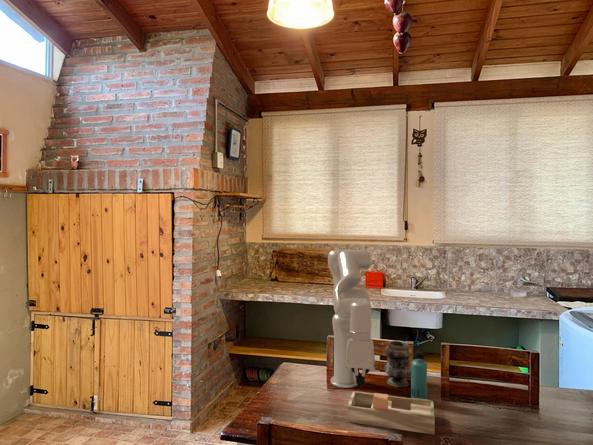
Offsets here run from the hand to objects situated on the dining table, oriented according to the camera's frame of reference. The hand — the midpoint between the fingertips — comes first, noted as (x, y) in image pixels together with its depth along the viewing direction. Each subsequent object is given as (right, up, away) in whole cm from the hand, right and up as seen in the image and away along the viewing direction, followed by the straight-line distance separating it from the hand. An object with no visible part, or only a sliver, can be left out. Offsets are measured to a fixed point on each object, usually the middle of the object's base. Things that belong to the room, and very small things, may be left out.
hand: (360, 385), depth 149 cm
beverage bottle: (+26, -13, +15) cm, 33 cm away
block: (+7, -8, -1) cm, 11 cm away
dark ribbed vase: (+22, -13, +34) cm, 42 cm away
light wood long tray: (+11, -12, 0) cm, 17 cm away
